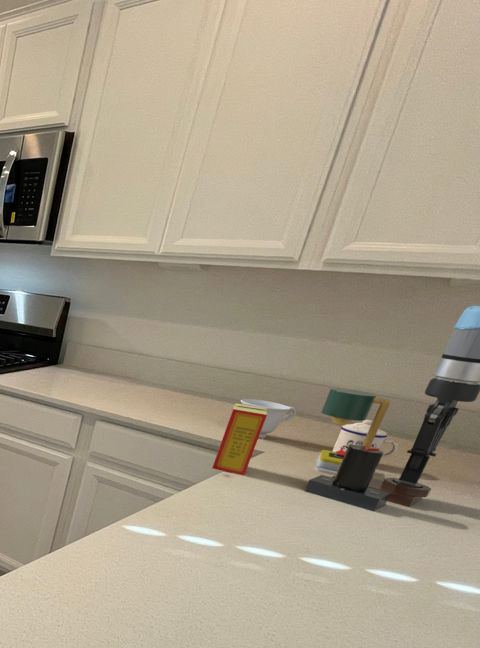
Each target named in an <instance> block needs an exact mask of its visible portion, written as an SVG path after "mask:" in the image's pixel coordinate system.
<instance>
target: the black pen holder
mask: <svg viewBox="0 0 480 648" xmlns="http://www.w3.org/2000/svg"><path fill="white" fill-rule="evenodd" d="M383 454H384V451H382V450H381V449H380V450H379V448H370V447H366V446H360V445H349V446H348V448H347V451H346V453H345V455H344V458H343V460H342V462H341V465H340V467H339V469H338V472H337V474H336V476H335V475H334V476H335V478H334V481H333V483H334V484H335V485H338V486H340V487H343V488H347V489H351V490H357V491H366V490H367V488H368V485H369V483H370V481H371V479H372V478H374V477H373V476H374V475H375V473H376V470H377V468H378V466H379V464H380V461H381V459H382V458H383V457H382V455H383Z"/></svg>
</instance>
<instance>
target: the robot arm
mask: <svg viewBox="0 0 480 648" xmlns="http://www.w3.org/2000/svg"><path fill="white" fill-rule="evenodd" d="M432 375H433V376H434V377H433V378H431V379H429V382H428V384H427V386H426V387H425V391H424V394H425V395H426V396H428V397H432V398H436V401H435V402H434V403H432V404H429V405H428V407H427V409H426V413H424V418H423V421H422V424H421V426H420V428H419V431H418V433H417V435H416V438H415V441H414V443H413V444H412V447H411V448H410V449H407V451H406V453H407V454H410V455H409V457H408V460H407V462H406V463H405V466H404V468H403V470H402V472H401V475H399V480H401V481H405V482H409V483H413V484H416V483H419V481H420V478H421V476H422V474H423V472H424V470H425V468H426V466H427V464H428V462H429V460H430V458H431V457H436V456H437V453H436V452H435V451H437V447H438V445H439V444H440V441H441V440H442V438H443V436H444V435H445V433H446V430H447V429H448V427H449V426H451V425H450V424H451V423H452V420H453V419H454V416H457V414H458V413H459V410H460V408H459V407H457V405H458V402H462V403H473V402H475V401H476V400H477V398H478V396H479V394H480V305H472V306H471V305H470V306H468V307H467V308H465V309H464V310H463V312H462V314H461V315H460V316H459V319H458V320H457V322H456V324H455V325H454V326H453V331H452V333H451V335H450V338H449V340H448V341H447V345H446V346H445V348H444V351H443V353H442V355H441V357H440V358H439V359H438V362H437V364H436V366H435V368H434V370H433V373H432Z"/></svg>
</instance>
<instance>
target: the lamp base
mask: <svg viewBox="0 0 480 648" xmlns="http://www.w3.org/2000/svg"><path fill="white" fill-rule="evenodd" d="M335 476H336V475H332V476H331V477H332V478H335ZM399 478H400V477H399ZM399 478H397V477H385V478H383V479H379V478H376V477H372V479H371V481H370V483H369V485H368V487H369V488H373V489H377V490H380V491H384V492H388V493H391V494H390V496H389V498H388V500H387V502H389V503H392V504H395V505H396V504H397V505H400V506H403V507H406V508H410V507H412V506H414V505H415V504H417V503H418V502H420V501H421V500H422V499H423V498H427V497H428V496H429V495H430V492H431V491H432V488H431V487H430V486H428V485H425V484H423V483H420V482H417V483H418V484H420V485H422V487H421V488H415V487H409V486H405V485H401V484H398V483H395V482H394V480H395V479H399Z"/></svg>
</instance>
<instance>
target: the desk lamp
mask: <svg viewBox="0 0 480 648" xmlns="http://www.w3.org/2000/svg"><path fill="white" fill-rule="evenodd" d="M390 403H391V402H390V400H389V399H387V398H386V399H385V398H380V397H377V394H375V393H371V392H367V391H363V390H357V389H349V388H343V387H342V388H341V387H331V388H330V389H329V392H328V395H327V397H326V399H325V402H324V404H323V406H322V409H321V414H323V415H325V416H329V417H331V421H332V422H333V423H334V424H335V425H337V426H343V425H347V424H351V423H352V421H356V422H357V421H358V422H361V421H362V422H363V421H364V420H367V419H368V416H369V414H370V411H371V409H372V407H373V406H374V405H373V404H379V407H378V408H377V411H376V413H375V416H374V417H373V420H372V421H373V422H372V424H371V427H370V429H369V431H368V433H367V436H366V438H365V440H364V442H363V445H362V446H366V447H371V444H372V442H373V440H374V438H375V435H376V433H377V431H378V429H380V426H381V424H382V422H383V420H384V417H385V415H386V413H387V410H388V409H389V406H390V405H391V404H390Z"/></svg>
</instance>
